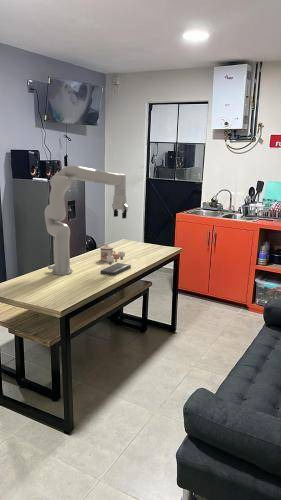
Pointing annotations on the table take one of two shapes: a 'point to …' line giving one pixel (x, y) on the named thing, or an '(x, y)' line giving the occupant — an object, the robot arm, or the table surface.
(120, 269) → the mount plate
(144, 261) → the table surface
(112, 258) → the knob near
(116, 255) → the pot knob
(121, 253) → the knob far
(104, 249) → the teacup with lid
